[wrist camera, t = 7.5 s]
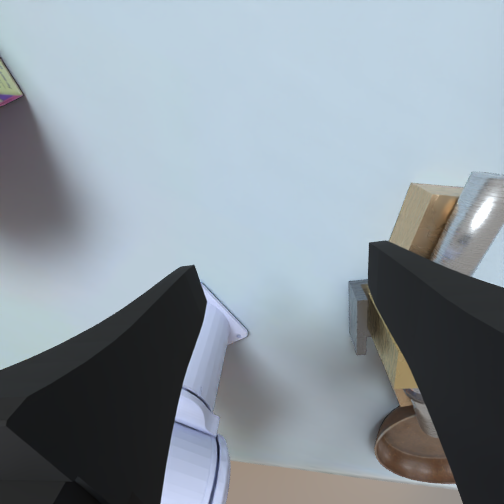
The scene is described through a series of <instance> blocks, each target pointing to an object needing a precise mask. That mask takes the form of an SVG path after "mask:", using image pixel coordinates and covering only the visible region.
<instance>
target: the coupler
mask: <svg viewBox="0 0 504 504" xmlns="http://www.w3.org/2000/svg"><path fill="white" fill-rule="evenodd" d="M368 330H369V332H370V334H371V337H372V339H373V341H374V344H375V346H376V348H377V351H378V353H379V355H380V358H381V360H382V362H383V365H384V367H385V370H386V372H387V374H388V377H389V379H390V381H391V384H392V386H393V388H394V389H409V388H418V386H417V384H416V382H415V379H414V377H413V375H412V372H411V370H410V368H409V366H408V364H407V362H406V360H405V358H404V356H403V354H402V353H401V351H400V349H399V347H398V345H397V344H396V342H395V340H394V338H393V337H392V335H391V333H390V331H389V329H388V328H387V326H386V324H385V322H384V320H383V319H382V317H381V315H380V313H379V311H378V310H377V308H376V305H375V303H374V300H373V298H372V295H369V311H368Z"/></svg>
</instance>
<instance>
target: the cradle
mask: <svg viewBox="0 0 504 504" xmlns="http://www.w3.org/2000/svg"><path fill="white" fill-rule="evenodd" d="M369 295H371V293H370V290H369V287H368V279H367V280H357V281H349V333H350V336H351V339H352V342H353V345H354V348H355V351H356V354H357V355H366V340H367V337H371V334H370V332H369V330H368V311H369Z"/></svg>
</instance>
